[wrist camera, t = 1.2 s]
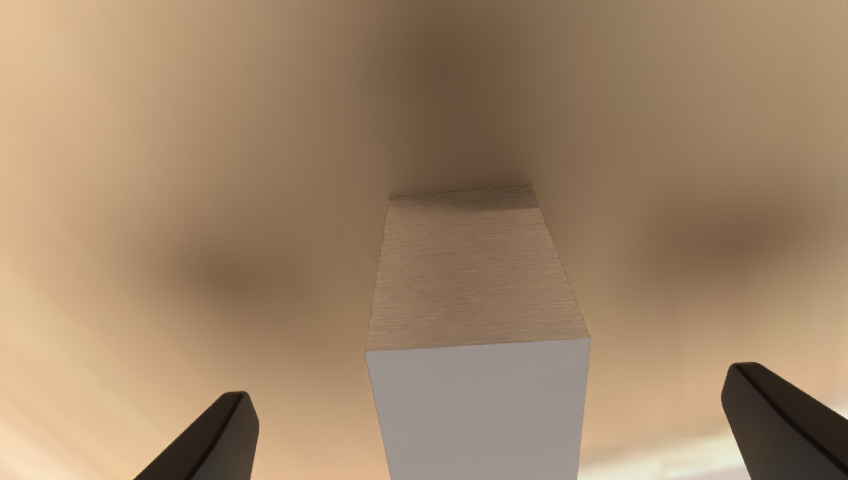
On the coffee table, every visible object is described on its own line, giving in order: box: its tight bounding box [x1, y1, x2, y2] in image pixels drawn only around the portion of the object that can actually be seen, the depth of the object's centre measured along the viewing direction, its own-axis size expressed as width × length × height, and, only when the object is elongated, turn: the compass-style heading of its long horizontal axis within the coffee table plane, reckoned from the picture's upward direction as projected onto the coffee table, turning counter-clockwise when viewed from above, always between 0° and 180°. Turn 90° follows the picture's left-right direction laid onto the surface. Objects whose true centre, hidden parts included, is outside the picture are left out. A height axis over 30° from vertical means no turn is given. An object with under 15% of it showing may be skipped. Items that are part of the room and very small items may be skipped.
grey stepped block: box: [365, 186, 591, 480], centre depth 12 cm, size 4×8×6 cm, turn 5°
